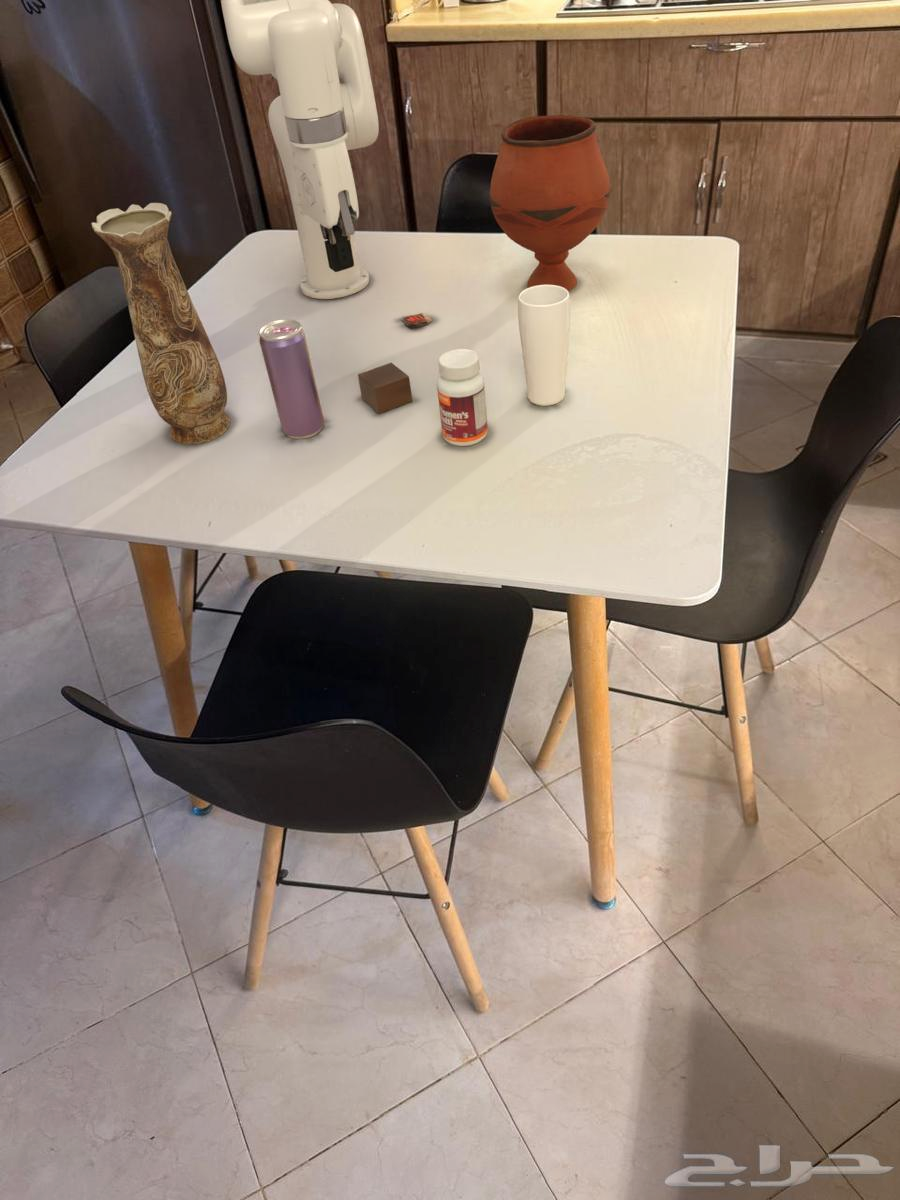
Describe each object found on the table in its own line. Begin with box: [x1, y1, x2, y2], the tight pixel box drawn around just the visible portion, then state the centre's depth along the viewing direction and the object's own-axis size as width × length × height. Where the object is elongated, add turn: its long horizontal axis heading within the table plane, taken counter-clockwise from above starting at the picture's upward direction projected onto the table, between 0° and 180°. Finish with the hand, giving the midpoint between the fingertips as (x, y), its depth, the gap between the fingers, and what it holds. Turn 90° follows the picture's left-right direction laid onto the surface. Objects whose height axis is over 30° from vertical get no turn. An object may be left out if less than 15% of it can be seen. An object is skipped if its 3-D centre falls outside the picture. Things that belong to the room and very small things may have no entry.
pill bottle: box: [436, 348, 488, 447], centre depth 114 cm, size 6×6×11 cm
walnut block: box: [357, 362, 413, 415], centre depth 125 cm, size 6×6×4 cm
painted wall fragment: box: [399, 312, 433, 329], centre depth 144 cm, size 5×5×1 cm
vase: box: [91, 202, 231, 445], centre depth 115 cm, size 10×11×30 cm
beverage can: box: [258, 319, 325, 440], centre depth 118 cm, size 6×6×15 cm
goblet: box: [489, 114, 611, 292], centre depth 142 cm, size 19×19×25 cm
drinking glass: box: [517, 285, 571, 407], centre depth 117 cm, size 7×7×15 cm
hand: (342, 267), depth 123 cm, fingers closed
